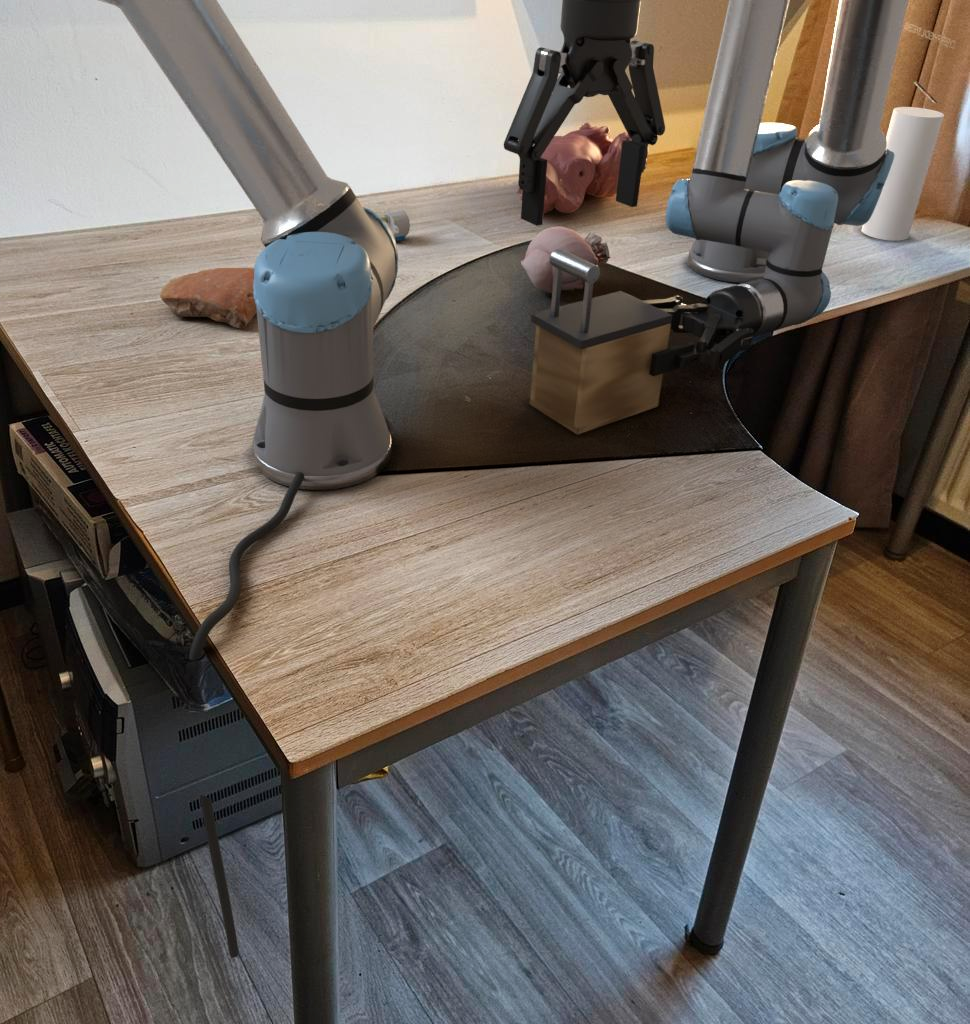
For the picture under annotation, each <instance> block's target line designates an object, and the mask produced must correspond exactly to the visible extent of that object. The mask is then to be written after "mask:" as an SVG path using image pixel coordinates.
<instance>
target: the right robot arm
mask: <svg viewBox="0 0 970 1024" xmlns="http://www.w3.org/2000/svg"><path fill="white" fill-rule="evenodd" d="M790 1H791V0H729V1H728V5H727V9H726V14H725V19H724V23H723V28H722V32H721V36H720V41H719V46H718V50H717V55H716V60H715V64H714V69H713V73H712V78H711V82H710V86H709V91H708V95H707V101H706V105H705V110H704V115H703V119H702V124H701V128H700V132H699V137H698V142H697V146H696V151H695V154H694V159H693V164H692V171H691V174H690V177H688V178H679V179H677V180H675V181H676V182H675V183H674V185H673V186H672V188H671V190H670V196H669V197H668V200H667V204H666V211H665V225H666V228H667V229H668V230H669V231H670V232H671V234H675V235H678V236H683V237H687V238H690V239H694V241H693V242H692V245H691V246H690V249H689V251H688V257H687V265H688V267H689V268H690V269H691V270H692V271H694V272H695V273H697V274H700V275H702V276H704V277H706V278H710V279H713V280H718V281H721V282H727V283H734V284H733V285H731V286H728V287H724V288H719V289H717V290H714V291H712V292H711V293H710V294H708V295H707V297H706V298H705V299H704V300H703V301H702V302H701V303H691V304H685V303H683V296H681V295H673V296H671V297H667V298H658V299H657V298H655V299H646V300H643V301H644V302H646V303H648V304H650V305H652V306H654V307H656V308H658V309H661V310H663V311H665V312H667V313H669V314H671V315H672V322H671V328H670V330H672V332H673V333H674V334H675V333H676V334H691V335H694V337H697V338H698V339H697V341H696V345H695V343H693V342H691V341H688V342H686V343H682V344H679V345H676V346H672V347H669V348H667V349H666V350H662V351H659V352H656V353H653V354H652V359H651V365H650V372H649V374H650V375H652V376H653V377H654V376H657V375H660V374H663V375H664V374H666V373H669V372H673V371H674V370H678V369H685V368H689V367H692V366H697V367H699V366H700V367H702V366H704V365H706V366H707V369H708V370H711V371H717V370H719V369H720V368H721V367H722V366H724V365H725V364H726V363H728V362H729V361H730V360H731V359H733V358H734V357H735V356H736V355H738V354H739V353H740V352H743V351H747V350H749V349H751V346H752V341H753V338H757V337H759V336H762V335H766V334H770V333H772V332H775V331H779V330H782V329H785V328H788V327H789V328H790V327H792V326H798V325H802V324H804V323H806V322H808V321H810V320H812V319H814V318H816V317H819V316H820V315H821V314H822V313H823V312H824V311H826V309H827V307H828V306H829V303H830V301H831V298H832V291H831V287H830V283H831V282H830V280H829V278H828V276H827V275H826V274H825V272H824V271H823V266H824V262H825V260H826V255H827V252H828V247H829V244H830V240H831V237H832V232H833V230H834V227H835V224H836V225H837V226H842V225H845V226H846V225H847V226H853V227H854V226H855V227H859V226H860V227H861V226H863V224H865V223H866V222H868V221H869V219H870V218H871V216H872V214H873V211H874V209H875V207H876V204H877V202H878V199H879V197H880V194H881V192H882V189H883V186H884V184H885V181H886V179H887V177H888V174H889V171H890V169H891V166H892V163H893V160H894V156H895V155H894V153H893V152H892V151H890V150H888V149H886V146H887V142H886V134H885V133H884V132H883V130H882V129H881V124H882V119H883V116H884V111H885V110H884V109H885V106H886V102H887V98H888V93H889V89H890V85H891V79H892V75H893V71H894V66H895V62H896V58H897V53H898V49H899V44H900V39H901V35H902V31H903V26H904V22H905V18H906V14H907V8H908V5H909V0H839V3H838V8H837V15H836V21H835V27H834V31H833V32H834V33H833V38H832V44H831V51H830V52H831V53H830V57H829V62H828V68H827V75H826V81H825V87H824V94H823V99H822V106H821V111H820V116H819V117H820V118H819V124H818V125H816V126H815V127H813V129H811V130H810V131H809V133H808V135H807V137H806V138H803V137H798V134H799V133H798V128H797V127H796V126H795V125H792V124H786V123H783V122H762V118H763V114H764V110H765V106H766V102H767V98H768V94H769V89H770V84H771V80H772V76H773V73H774V68H775V64H776V59H777V55H778V51H779V47H780V43H781V39H782V35H783V30H784V26H785V22H786V18H787V14H788V9H789V5H790ZM735 283H737V284H735ZM682 315H683V316H682ZM681 318H682V322H681ZM680 323H681V325H680ZM695 346H696V347H695Z"/></svg>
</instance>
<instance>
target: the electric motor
mask: <svg viewBox="0 0 970 1024" xmlns="http://www.w3.org/2000/svg"><path fill="white" fill-rule="evenodd" d="M379 217H380V218H382V220H383V221H384V222H385V223H386V224H387V226H388V227H389V229H390V230H391V232H392V234H393V236H394V239H395V241H396V242H399V241H404V240H405V238H406V236H407V235H409V233H410V229H411V222H410V218H409V216H408V213H407V212H406V210H404V209H403V208H397V209H392V210H387V211H384V212H383V213H382V214H381V216H379Z"/></svg>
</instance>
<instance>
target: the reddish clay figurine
mask: <svg viewBox="0 0 970 1024" xmlns="http://www.w3.org/2000/svg"><path fill="white" fill-rule="evenodd" d="M610 130H611V129H610V127H608V126H607V125H605V126H604V125H602V126H600V127H598V126H592V125H591V124H590V123H589V122H585V123H584V124H581V126H580V127H579V129H576V130H573V131H570V132H568V133H566V134H565V135H555V136H554V137H553V139H552V140H551V142H550V144H549V145H548V147H547V148H546V150H545V151H544V153H543V154H542V156H541V157H540V158H543V159H546V160H547V173H546V185H545V198H544V211H543V214H546V213H549V212H551V211H552V210H553V209H554V208H555V209H556V210H557V211H559V212H560V213H564V214H569V213H573V212H575V211H578V209H579V208H581V206H582V203H584V199H585V195H591V196H593V197H596V198H599V197H604V198H606V197H608V198H610V197H613V196H614V195H615V196H616V193H617V184H618V176H619V167H620V159H621V151H622V142H623V140H630V141H632V139H631V138H630V137H629V135H628V133H627V131H624V132H621V133H618V135H617V136H615V137H614V138H612V137H611V136H610V135H609V134H610ZM648 157H649V149H648V150H647V157H646V165H645V169H644V170H646V169H647V164H648V161H647V160H648ZM642 174H643V173H641V176H642ZM522 191H523V190H521V189H519V188H518V189H517V194H518V195H520V200H521V202H522Z"/></svg>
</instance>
